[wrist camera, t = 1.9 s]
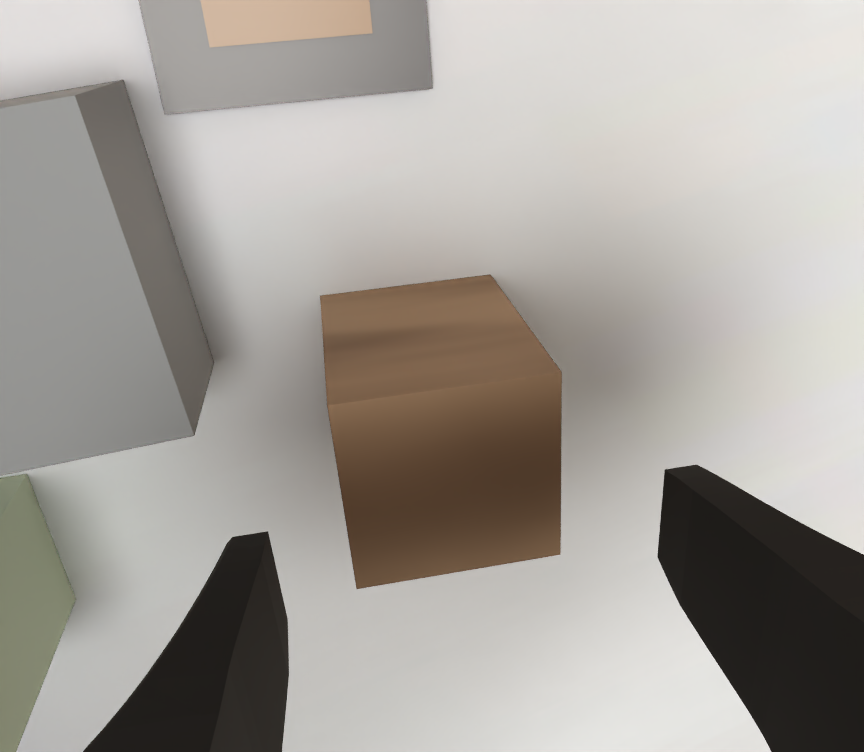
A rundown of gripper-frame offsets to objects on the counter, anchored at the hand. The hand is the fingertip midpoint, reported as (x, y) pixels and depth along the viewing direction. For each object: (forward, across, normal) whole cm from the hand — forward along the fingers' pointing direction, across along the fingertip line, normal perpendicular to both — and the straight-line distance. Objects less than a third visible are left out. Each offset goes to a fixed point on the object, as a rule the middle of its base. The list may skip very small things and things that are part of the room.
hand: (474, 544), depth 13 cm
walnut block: (+8, 0, 0) cm, 8 cm away
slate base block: (+8, +9, -4) cm, 13 cm away
